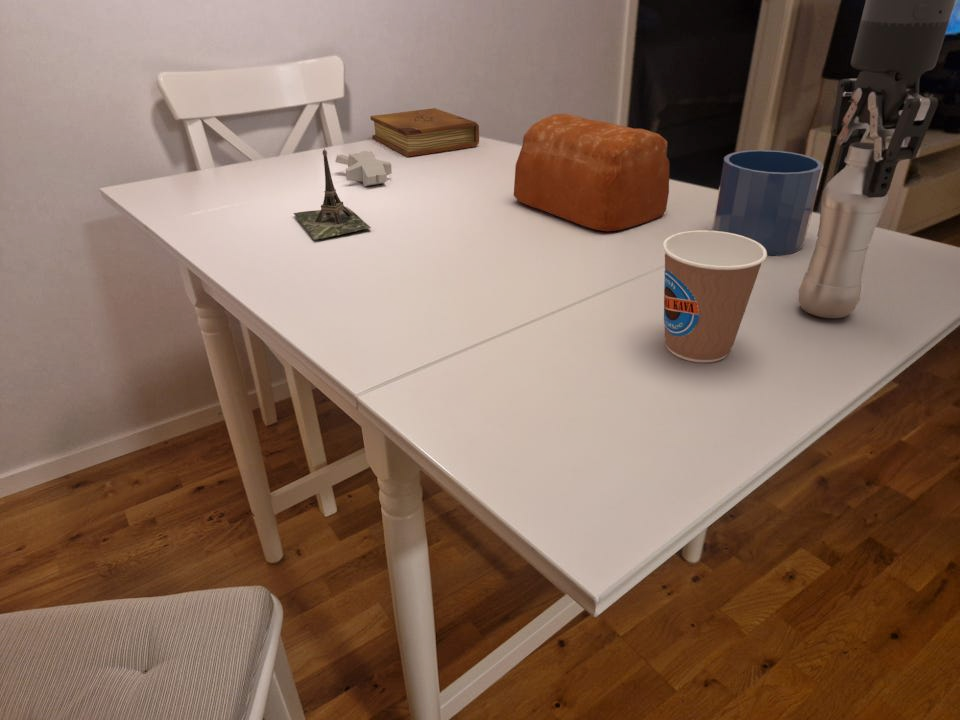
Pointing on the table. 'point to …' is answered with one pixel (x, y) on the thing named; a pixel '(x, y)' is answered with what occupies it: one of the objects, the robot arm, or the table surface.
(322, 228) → the eiffel tower figurine
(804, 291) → the plastic bottle
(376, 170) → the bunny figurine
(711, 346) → the coffee cup
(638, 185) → the bread
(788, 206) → the blue bin
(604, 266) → the table surface
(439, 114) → the diary
